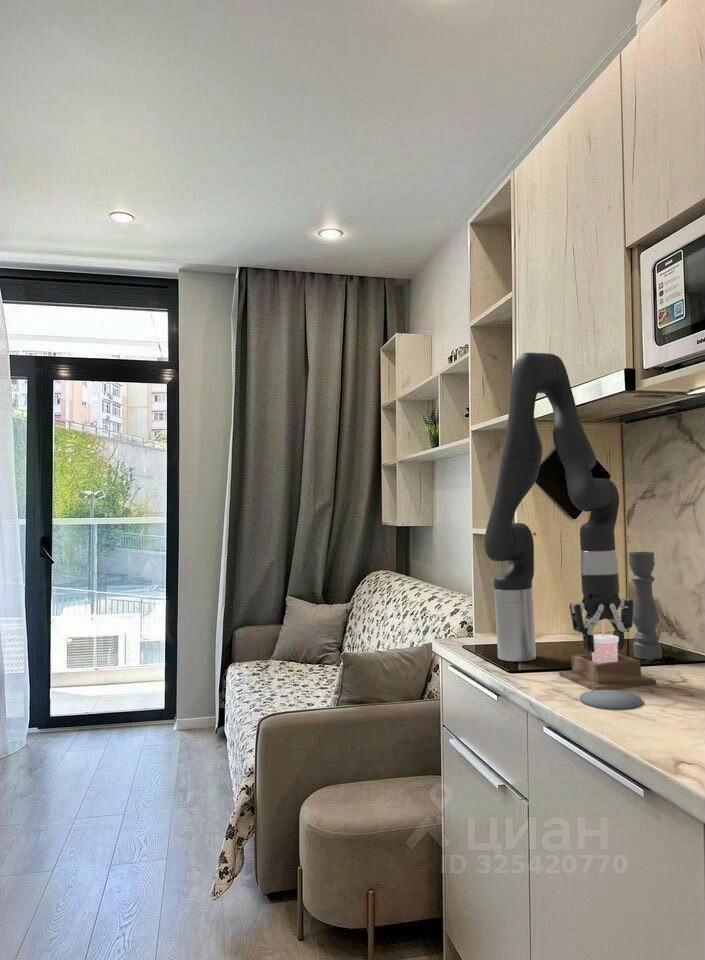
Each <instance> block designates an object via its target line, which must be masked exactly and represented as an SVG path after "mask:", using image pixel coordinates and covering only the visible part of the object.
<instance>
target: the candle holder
mask: <svg viewBox="0 0 705 960" xmlns="http://www.w3.org/2000/svg"><path fill="white" fill-rule="evenodd" d="M655 564H656V563H655V552H654V551H630V552H628V565H629V567H630V570H631V571H632V573H633V576H631V577H630V580H631V581H632V582H633V584H634V600H633V621H632V624H633V625H634V626H635V630H637V631H636V632H635V634H634V635H633V639H634V640H635V641H634V642H633V643H632V644H633V646H632V648H633V658H634V657H636V658H639V659H638V660H640V659H646V660H645V661H655V660H654V659H660V658H662V659H663V655H662V652H663V651H662V643H661V642H659V641H660V636H659V635H658V634H657V632H656V630H657V628H656V627H657V626H658V625H659V622H660V616H659V612H658V609H657V605H656V603H655V600H654V596H653V582H654V581H655V577H654V576H653V575H652V573H653V571H654V567H655V566H656V565H655ZM636 658H635V659H636ZM660 660H661V659H660Z"/></svg>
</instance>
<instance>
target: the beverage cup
mask: <svg viewBox="0 0 705 960" xmlns="http://www.w3.org/2000/svg"><path fill="white" fill-rule="evenodd" d="M600 621H601V633H600V634H599V633H598V634H592V635H593V637H594V652H592V660H593V662H596V663H608V662H618V654H619V652H618V651H619V650H618V642H619V637H618V636H615V635H613V634H605V619H603V620H600Z"/></svg>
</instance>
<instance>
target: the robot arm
mask: <svg viewBox="0 0 705 960" xmlns="http://www.w3.org/2000/svg"><path fill="white" fill-rule="evenodd" d="M567 371H568V370H567V369H566V366H565V364H564V362H563V360H562V358H561V357H560V356H558V355H556V354H554V353H547V352H546V353H545V352H544V353H543V352H524V353H522V354H520V355H519V356H517V358H516V360H515V362H514V364H513V367H512V371H511V379H510V389H509V391H510V392H509V393H510V394H509V405H508V406H509V407H508V408H509V409H508V417H507V423H506V432H505V437H504V438H505V439H504V443H503V447H502V453H501V459H500V464H499V474H498V480H497V484H496V485H497V486H496V490H495V494H494V495H495V496H494V501H493V503H492V506H491V511H490V515H489V518H488V521H487V527H486V529H485V534H484V550H485V555H486V556H487V558H489V560H491V561H494V562H508V563H507V567H506V568H505V569H504V570H503V571H502V572H500V573H498V574H497V575H495V576H494V578H493V591H494V595H493V596H494V609H495V625H496V626H495V629H496V645H497V646H496V647H497V658H498V659H499V660H502V661H506V662H528V661H533V660H535V659H537V651H536V649H537V648H536V630H535V615H534V614H535V613H534V599H533V597H534V595H533V579H534V575H535V546H534V545H535V543H534V536H533V534H532V531H531V529H530V528H529V526H528V525H527V524H525V523H524V522H523V523H522V522H513V521H514V517H515V514H516V511H517V509H518V507H519V506H520V504H521V502H522V501H523V499H524V498H525V497H526V495H528V493H529V492H530V490H531V488H533V486H534V484H535V483H536V481H537V479H538V478H539V473H540V467H541V464H542V463H541V462H542V457H543V443H542V440H541V437H540V434H539V430H538V429H537V426H536V425H537V424H536V421H535V408H536V407H535V406H536V401H537V395H538V394H544V395H545V397H546V398H547V399H548V402H549V403H550V405H551V408H552V412H553V425H552V439H553V443H554V446H555V449H556V451H557V454H558V457H559V459H560V461H561V463H562V465H563V468H564V474H565V481H566V488H567V494H568V497H569V499H570V502H571V503H572V504H573V505H574V507H575V508H576V509H578V510H579V511H581V512H588V513H589V512H590V513H589V518H588V521H587V522H586V523H583V524H581V526H580V529H579V541H580V543H579V545H580V560H579V561H580V563H579V564H580V575H581V576H580V577H581V592H582V596H583V597H582V600H581V602H577V603H574V602H573V603H571V602H570V604H569V611H570V617H571V621H572V622H571V623H572V628H573V631H575V632H579V633H581V634H582V640H583V641H582V642H583V649H584V650H586V652H588V653H589V654H591V653H592V652H594V637H593V635H594V634H593V632H594V630H595V627H596V626H597V625H598V623H599V621H601V620H603V619H604V620H607V621H608V622H609V623H610V625H611V626H612V629H614V630H613V634H612V635H615V636H618V637H619V642H618V651H619V650H623V649H624V647H625V644H626V643H625V631H626V630H627V629H632V627H633V606H634V600H632V599H628V598H622V599H621V598H620V596H619V593H620V581H619V580H620V579H619V578H620V576H619V566H618V565H619V564H618V563H619V562H618V558H617V557H618V556H617V551H616V540H615V539H616V537H615V527H616V523H617V519H618V512H619V507H620V494H619V490H618V488H617V486H616V484H615V483H614V481H612V480H610V479H608V478H601V477H600V478H594V476H593V475H592V469H593V468H594V467H595V466H596V465H597V457H596V454H595V451H594V450H593V447H592V445H591V443H590V440H589V438H588V436H587V435H586V434H587V433H586V432H585V429H584V426H583V424H582V422H581V419H580V416H579V413H578V410H577V405H576V401H575V398H574V395H573V390H572V386H571V383H570V379H569V374H568V372H567ZM619 608H620V609H621V610H620V614H619V612H618V609H619ZM584 610H585V612H586V613H585V615H584V618H583V613H584Z"/></svg>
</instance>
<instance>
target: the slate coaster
mask: <svg viewBox="0 0 705 960" xmlns="http://www.w3.org/2000/svg"><path fill="white" fill-rule="evenodd" d="M579 702H581V704H582V703H583V705H586V706H589V707H591V708H596V709H603V710H604V709H605V710H628V709H635V708H637V707H640V706H641V705H642V703H643V701H642V697H641V696H640V695H638V694H635V693H633V692H629V691H624V690H617V689H608V690H589V691H588V690H587V691H584V692H581V694H580V695H579Z"/></svg>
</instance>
